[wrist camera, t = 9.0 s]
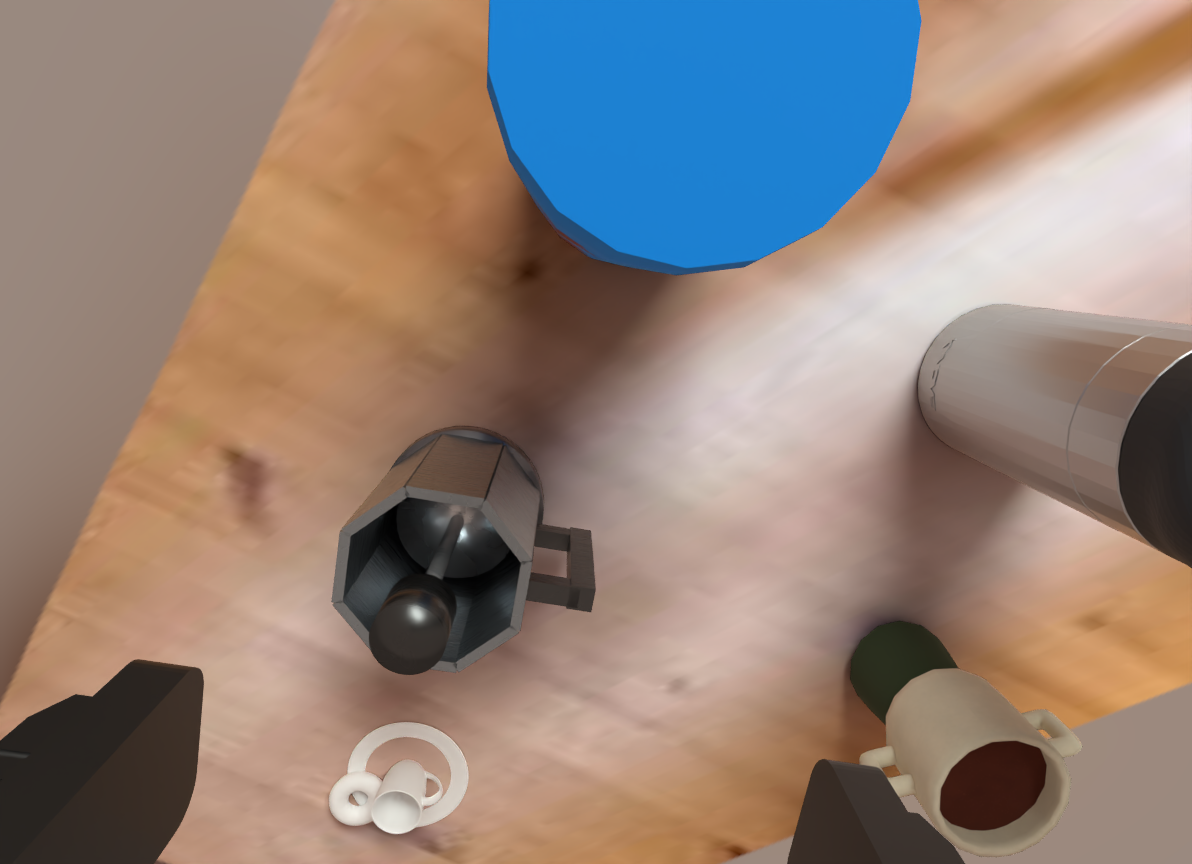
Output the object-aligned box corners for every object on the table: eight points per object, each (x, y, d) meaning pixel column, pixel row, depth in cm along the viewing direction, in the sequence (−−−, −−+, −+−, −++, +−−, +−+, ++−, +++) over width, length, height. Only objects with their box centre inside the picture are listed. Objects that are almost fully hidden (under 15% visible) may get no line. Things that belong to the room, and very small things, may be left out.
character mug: (821, 727, 51) (904, 882, 38) (801, 632, 49) (881, 762, 37) (981, 688, 51) (1118, 831, 38) (966, 591, 49) (1104, 708, 37)
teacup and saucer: (332, 814, 52) (312, 860, 48) (342, 709, 50) (322, 748, 46) (462, 827, 52) (453, 874, 48) (476, 725, 51) (467, 765, 47)
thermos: (628, 304, 44) (701, 362, 20) (489, 170, 42) (384, 54, 18) (763, 161, 43) (1019, 36, 18) (625, 16, 41) (709, -338, 17)
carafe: (602, 448, 46) (612, 511, 35) (573, 593, 48) (575, 698, 37) (396, 413, 45) (338, 465, 34) (376, 563, 47) (315, 660, 36)
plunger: (527, 471, 44) (507, 573, 29) (508, 580, 45) (480, 728, 31) (407, 450, 43) (329, 545, 29) (392, 562, 45) (310, 704, 30)
